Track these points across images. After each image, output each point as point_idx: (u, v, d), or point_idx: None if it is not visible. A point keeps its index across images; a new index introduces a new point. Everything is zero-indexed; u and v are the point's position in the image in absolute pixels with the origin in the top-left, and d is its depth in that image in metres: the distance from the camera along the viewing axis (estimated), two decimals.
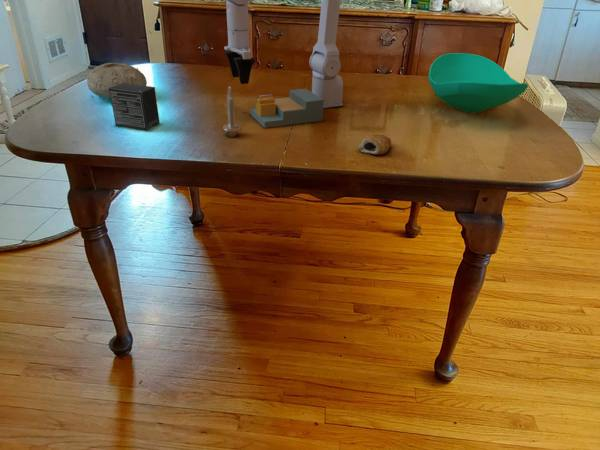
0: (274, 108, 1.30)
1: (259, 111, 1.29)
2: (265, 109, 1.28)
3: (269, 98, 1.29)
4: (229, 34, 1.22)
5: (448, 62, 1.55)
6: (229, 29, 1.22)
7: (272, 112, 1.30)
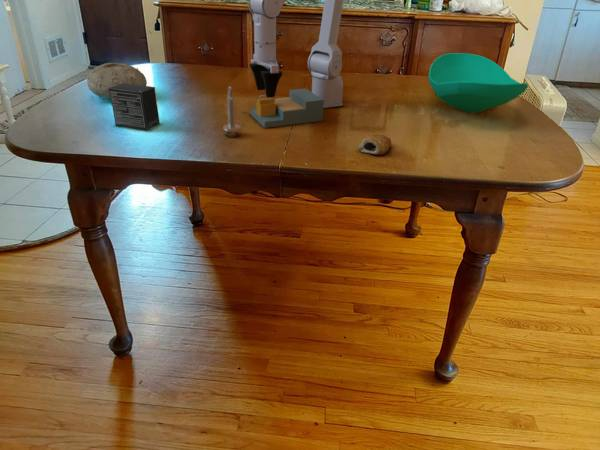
0: (274, 108, 1.30)
1: (259, 111, 1.29)
2: (265, 109, 1.28)
3: (269, 98, 1.29)
4: (256, 47, 1.20)
5: (448, 62, 1.55)
6: (256, 42, 1.19)
7: (272, 112, 1.30)
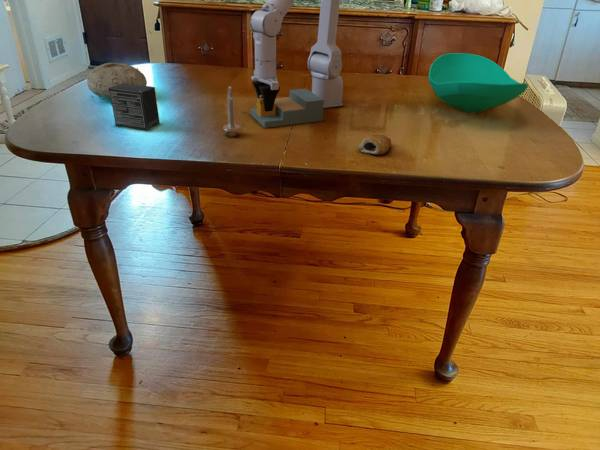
0: (274, 108, 1.30)
1: (259, 111, 1.29)
2: None
3: None
4: (257, 64, 1.22)
5: (448, 62, 1.55)
6: (257, 60, 1.22)
7: (272, 112, 1.30)
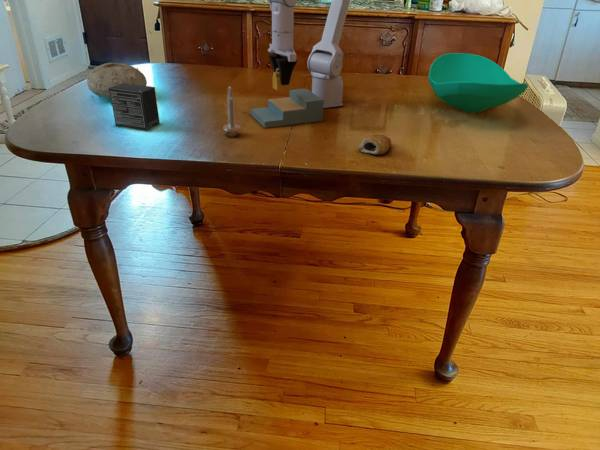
0: (290, 82, 1.28)
1: (275, 85, 1.27)
2: None
3: None
4: (274, 36, 1.20)
5: (448, 62, 1.55)
6: (274, 31, 1.20)
7: (288, 86, 1.28)
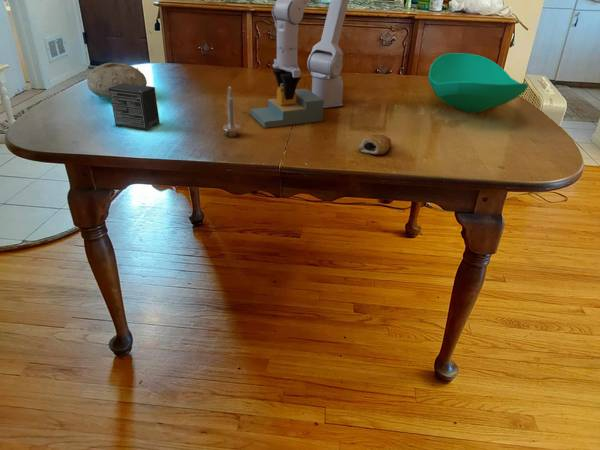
0: (294, 96, 1.30)
1: (280, 99, 1.30)
2: None
3: None
4: (278, 52, 1.23)
5: (448, 62, 1.55)
6: (279, 47, 1.22)
7: (292, 100, 1.31)
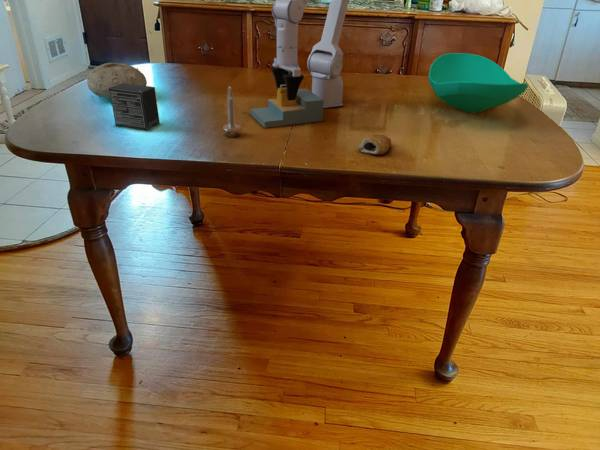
0: None
1: (280, 100, 1.30)
2: (285, 98, 1.29)
3: None
4: (278, 51, 1.23)
5: (448, 62, 1.55)
6: (279, 46, 1.22)
7: (292, 101, 1.31)
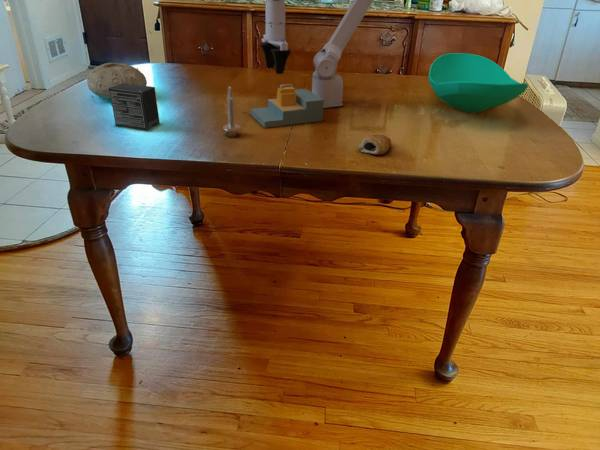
0: (294, 98, 1.31)
1: (280, 100, 1.30)
2: (285, 98, 1.29)
3: (290, 88, 1.30)
4: (267, 27, 1.32)
5: (448, 62, 1.55)
6: (267, 22, 1.31)
7: (292, 101, 1.31)
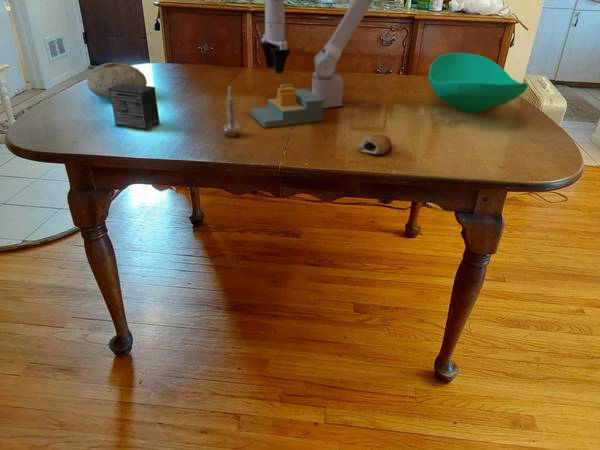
0: (294, 98, 1.31)
1: (280, 100, 1.30)
2: (285, 98, 1.29)
3: (290, 88, 1.30)
4: (267, 27, 1.32)
5: (448, 62, 1.55)
6: (267, 22, 1.31)
7: (292, 101, 1.31)
